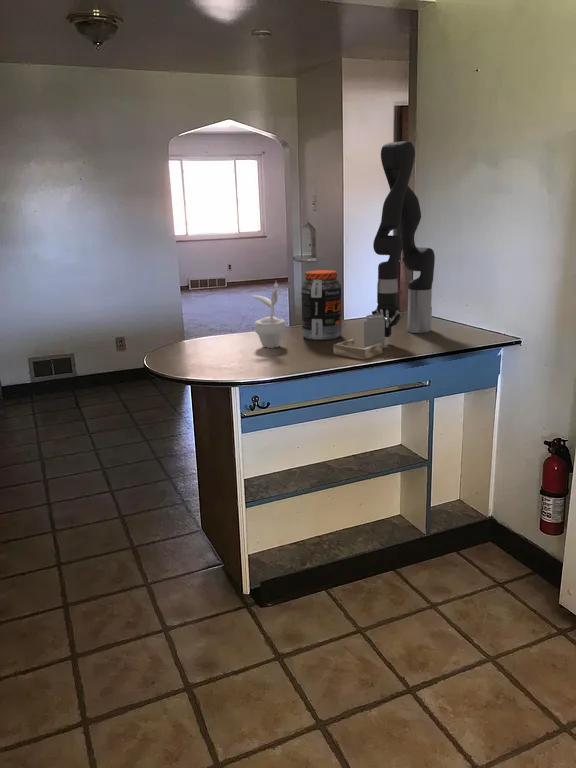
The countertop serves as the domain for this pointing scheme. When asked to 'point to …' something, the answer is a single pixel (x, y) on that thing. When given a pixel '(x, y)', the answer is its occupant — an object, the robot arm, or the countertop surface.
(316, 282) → the supplement tub
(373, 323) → the can
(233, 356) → the countertop surface
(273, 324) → the potted plant
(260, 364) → the countertop surface
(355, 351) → the tray
